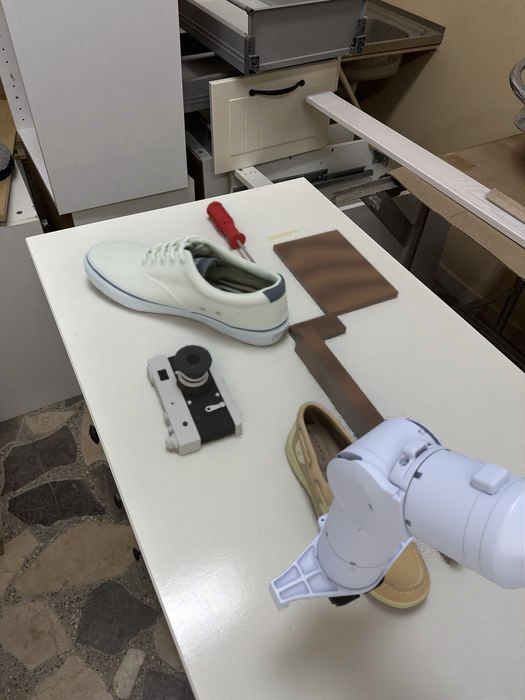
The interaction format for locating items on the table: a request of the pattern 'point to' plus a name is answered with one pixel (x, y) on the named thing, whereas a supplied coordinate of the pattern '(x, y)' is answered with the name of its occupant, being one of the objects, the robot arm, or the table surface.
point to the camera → (193, 398)
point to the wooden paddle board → (335, 316)
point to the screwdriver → (227, 226)
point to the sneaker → (193, 285)
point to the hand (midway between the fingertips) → (332, 591)
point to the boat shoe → (311, 469)
